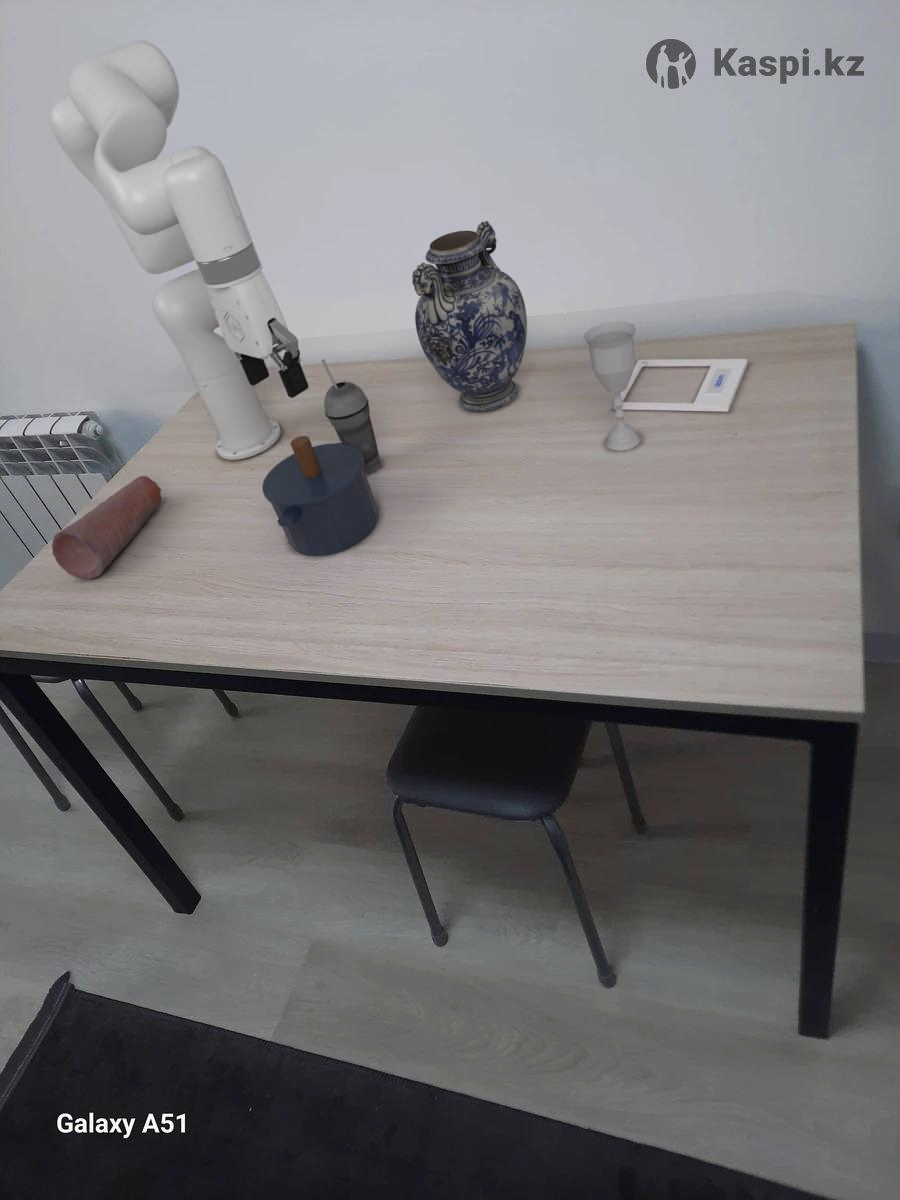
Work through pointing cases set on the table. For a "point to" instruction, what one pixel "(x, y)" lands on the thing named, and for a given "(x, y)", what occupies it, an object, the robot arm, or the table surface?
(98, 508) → the food
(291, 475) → the lid
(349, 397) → the beverage cup
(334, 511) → the pot
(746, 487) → the table surface
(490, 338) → the decorative vase
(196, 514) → the table surface
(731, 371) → the photo frame
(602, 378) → the chalice
